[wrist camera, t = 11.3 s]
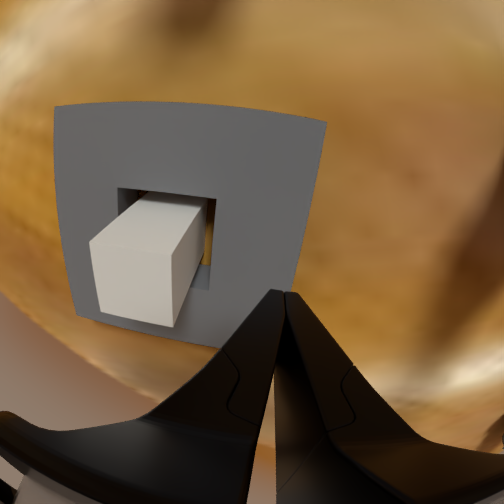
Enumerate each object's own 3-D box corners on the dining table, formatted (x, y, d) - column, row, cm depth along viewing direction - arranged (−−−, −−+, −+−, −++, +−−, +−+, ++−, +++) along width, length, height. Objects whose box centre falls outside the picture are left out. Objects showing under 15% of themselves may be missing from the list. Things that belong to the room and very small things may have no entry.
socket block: (318, 120, 16) (326, 122, 14) (273, 329, 24) (273, 355, 21) (80, 103, 16) (54, 106, 14) (92, 294, 24) (76, 315, 21)
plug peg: (208, 196, 19) (171, 254, 12) (204, 251, 21) (173, 327, 14) (150, 190, 19) (89, 241, 12) (150, 243, 21) (100, 311, 14)
